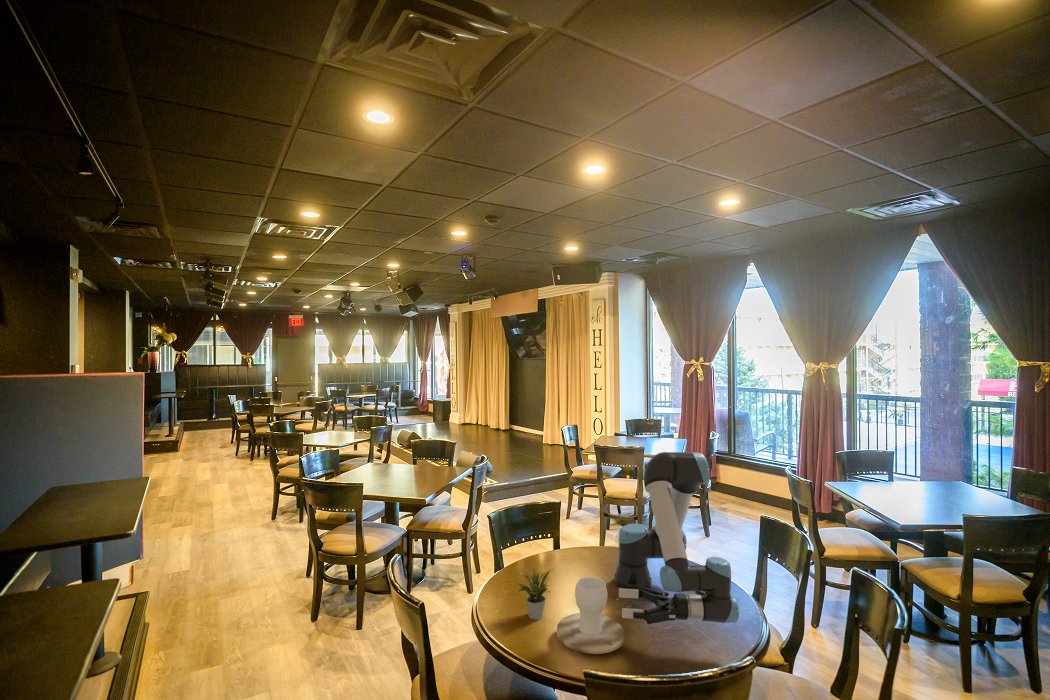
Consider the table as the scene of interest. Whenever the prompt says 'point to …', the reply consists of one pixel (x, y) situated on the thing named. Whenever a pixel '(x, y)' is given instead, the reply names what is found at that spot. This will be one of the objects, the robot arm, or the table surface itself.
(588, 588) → the cup
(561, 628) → the turntable platter
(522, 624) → the table surface
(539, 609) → the house plant
